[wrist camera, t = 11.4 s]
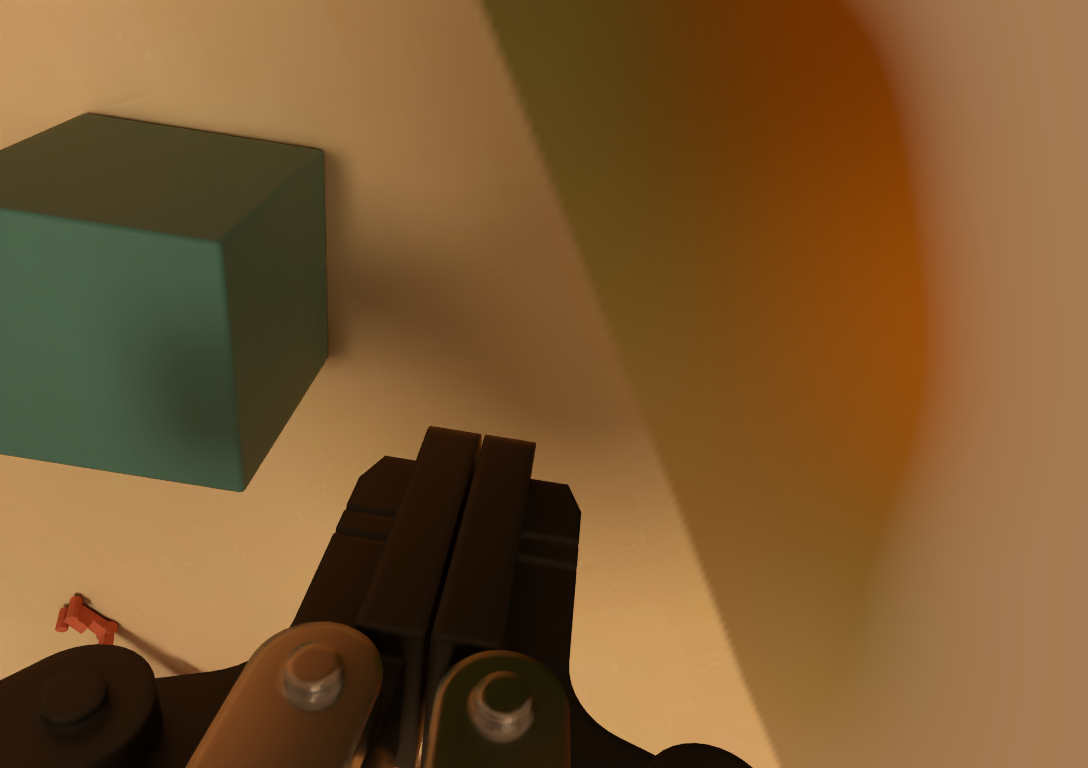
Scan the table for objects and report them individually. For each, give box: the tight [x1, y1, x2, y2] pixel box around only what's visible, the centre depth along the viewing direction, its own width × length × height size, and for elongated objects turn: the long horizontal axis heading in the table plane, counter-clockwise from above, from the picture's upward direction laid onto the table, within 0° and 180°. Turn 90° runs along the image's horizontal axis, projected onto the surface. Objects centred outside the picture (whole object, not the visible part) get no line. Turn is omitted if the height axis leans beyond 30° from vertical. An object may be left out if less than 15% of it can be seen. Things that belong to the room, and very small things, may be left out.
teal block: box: [0, 113, 328, 492], centre depth 14 cm, size 5×5×5 cm
